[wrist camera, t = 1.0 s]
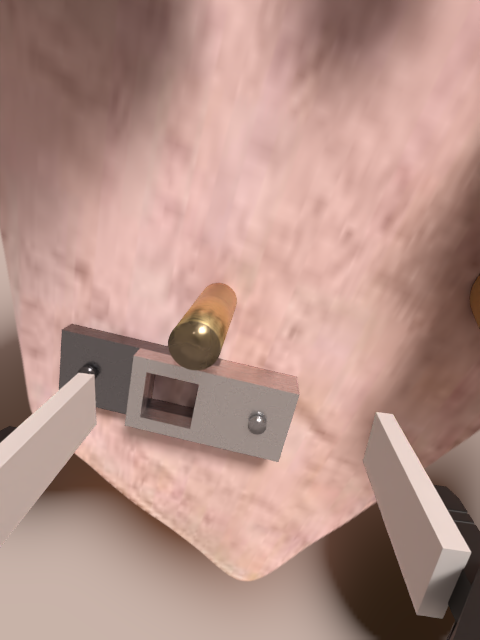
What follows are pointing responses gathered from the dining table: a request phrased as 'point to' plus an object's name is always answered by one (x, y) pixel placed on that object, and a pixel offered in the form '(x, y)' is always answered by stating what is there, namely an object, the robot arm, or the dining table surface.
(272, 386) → the door bolt
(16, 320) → the dining table surface
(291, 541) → the dining table surface
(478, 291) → the plant pot
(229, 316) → the pin
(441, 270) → the dining table surface
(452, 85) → the dining table surface
